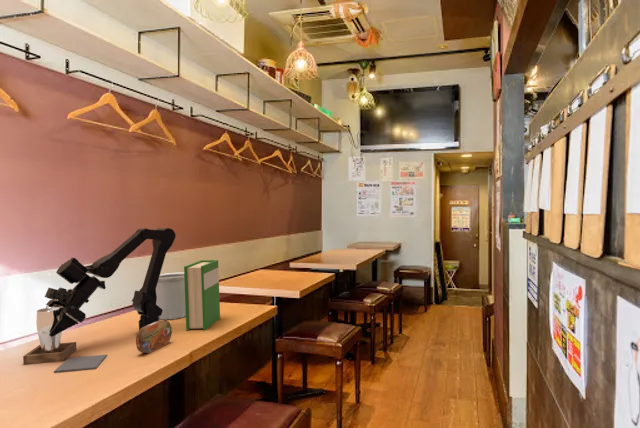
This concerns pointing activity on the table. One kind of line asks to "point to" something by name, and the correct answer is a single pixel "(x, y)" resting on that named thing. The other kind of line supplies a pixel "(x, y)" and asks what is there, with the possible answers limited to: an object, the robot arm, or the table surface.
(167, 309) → the utensil holder
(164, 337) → the tin
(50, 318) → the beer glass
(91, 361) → the rubber mat
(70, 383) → the table surface
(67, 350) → the brown square tray
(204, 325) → the hardback book
